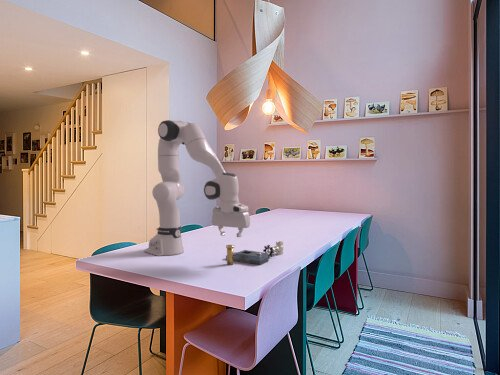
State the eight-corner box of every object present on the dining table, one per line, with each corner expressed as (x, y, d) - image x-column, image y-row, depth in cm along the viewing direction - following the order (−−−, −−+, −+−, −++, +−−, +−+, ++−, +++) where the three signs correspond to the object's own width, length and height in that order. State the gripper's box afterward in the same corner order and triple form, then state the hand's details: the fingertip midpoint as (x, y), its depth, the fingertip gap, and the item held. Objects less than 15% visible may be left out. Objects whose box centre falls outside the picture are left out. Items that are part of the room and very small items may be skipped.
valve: (276, 252, 185) (263, 256, 176) (276, 240, 184) (262, 244, 175) (286, 254, 180) (273, 258, 171) (286, 242, 180) (273, 246, 171)
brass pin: (224, 264, 161) (224, 245, 160) (229, 262, 164) (229, 244, 163) (231, 265, 159) (230, 246, 158) (235, 263, 162) (235, 245, 161)
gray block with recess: (226, 259, 170) (225, 250, 170) (235, 256, 177) (235, 247, 177) (260, 265, 159) (260, 255, 159) (268, 261, 166) (268, 252, 166)
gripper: (208, 207, 163) (209, 235, 163) (243, 208, 152) (244, 239, 152) (216, 205, 168) (217, 233, 169) (251, 207, 157) (252, 236, 158)
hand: (230, 236), depth 160 cm, fingers open, 8 cm apart
